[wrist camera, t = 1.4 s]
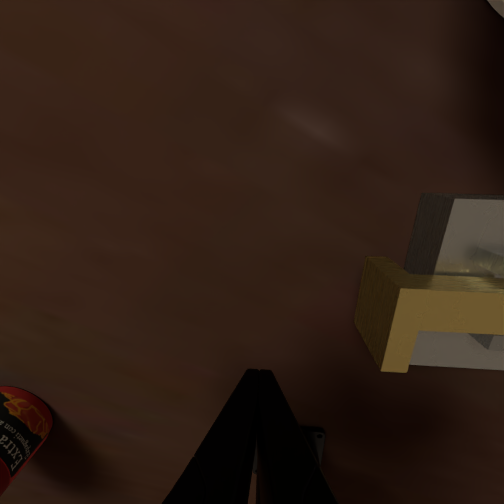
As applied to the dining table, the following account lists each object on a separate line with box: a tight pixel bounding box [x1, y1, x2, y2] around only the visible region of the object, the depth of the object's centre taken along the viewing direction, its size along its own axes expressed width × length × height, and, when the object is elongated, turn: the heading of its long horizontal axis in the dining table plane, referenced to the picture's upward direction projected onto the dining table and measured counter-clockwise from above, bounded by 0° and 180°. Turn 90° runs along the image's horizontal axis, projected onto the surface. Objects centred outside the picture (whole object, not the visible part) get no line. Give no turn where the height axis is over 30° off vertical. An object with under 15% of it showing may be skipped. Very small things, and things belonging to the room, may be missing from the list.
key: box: [354, 256, 504, 373], centre depth 13 cm, size 4×8×4 cm, turn 89°
